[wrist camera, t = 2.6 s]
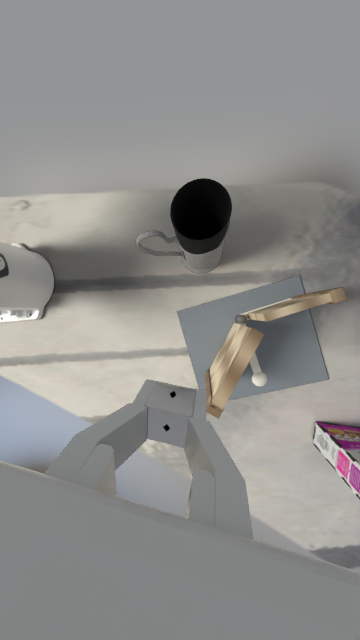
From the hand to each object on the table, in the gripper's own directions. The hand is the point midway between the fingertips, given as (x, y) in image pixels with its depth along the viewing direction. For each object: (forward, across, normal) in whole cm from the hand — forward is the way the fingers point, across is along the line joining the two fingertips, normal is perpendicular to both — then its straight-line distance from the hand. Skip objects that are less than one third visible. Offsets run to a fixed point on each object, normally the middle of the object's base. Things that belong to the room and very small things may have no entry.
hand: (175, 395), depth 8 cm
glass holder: (+32, +4, -7) cm, 33 cm away
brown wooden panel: (+26, -5, +11) cm, 28 cm away
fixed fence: (+29, -13, +2) cm, 32 cm away
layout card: (+27, -10, +9) cm, 31 cm away
